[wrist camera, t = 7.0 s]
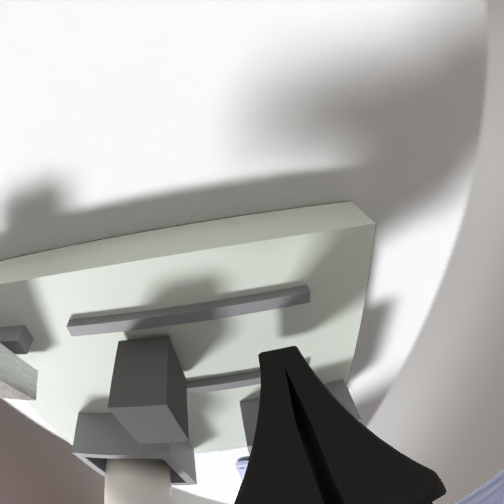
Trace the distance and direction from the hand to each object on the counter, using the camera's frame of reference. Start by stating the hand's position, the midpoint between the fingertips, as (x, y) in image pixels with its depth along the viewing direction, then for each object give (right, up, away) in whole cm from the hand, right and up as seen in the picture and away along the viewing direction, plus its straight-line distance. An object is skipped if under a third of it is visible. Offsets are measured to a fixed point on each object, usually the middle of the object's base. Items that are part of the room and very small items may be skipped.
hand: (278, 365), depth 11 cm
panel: (-5, -2, +4) cm, 7 cm away
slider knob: (-5, 0, 0) cm, 5 cm away
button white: (-7, -8, +2) cm, 11 cm away
